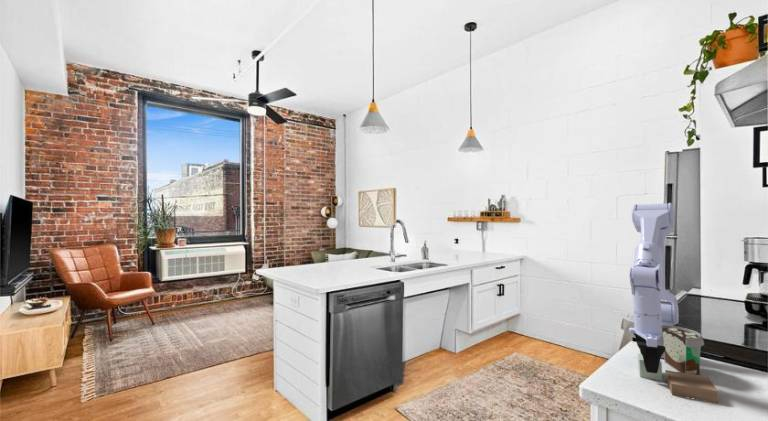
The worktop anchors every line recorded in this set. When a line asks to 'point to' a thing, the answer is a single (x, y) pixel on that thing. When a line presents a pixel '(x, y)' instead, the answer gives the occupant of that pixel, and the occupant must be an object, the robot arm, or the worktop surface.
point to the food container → (682, 349)
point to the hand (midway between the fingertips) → (649, 366)
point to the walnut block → (691, 386)
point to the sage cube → (645, 374)
